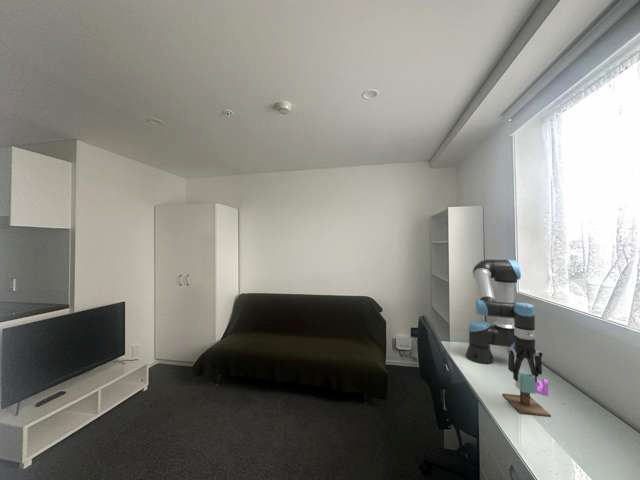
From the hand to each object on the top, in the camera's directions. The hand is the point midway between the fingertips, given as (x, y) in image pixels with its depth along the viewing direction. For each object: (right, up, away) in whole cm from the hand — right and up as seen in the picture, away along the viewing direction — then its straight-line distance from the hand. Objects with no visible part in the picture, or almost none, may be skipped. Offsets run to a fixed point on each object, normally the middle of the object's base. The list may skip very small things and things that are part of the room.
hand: (525, 388), depth 118 cm
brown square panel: (0, -8, 0) cm, 8 cm away
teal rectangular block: (0, -1, 0) cm, 1 cm away
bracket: (+19, -9, +15) cm, 25 cm away
